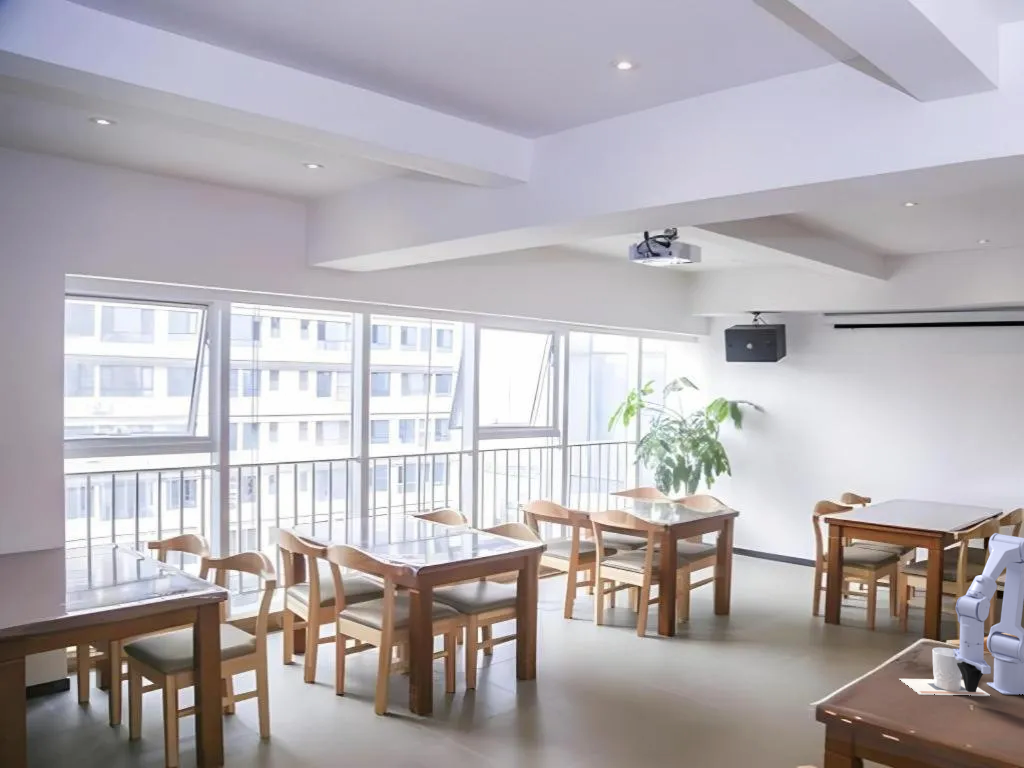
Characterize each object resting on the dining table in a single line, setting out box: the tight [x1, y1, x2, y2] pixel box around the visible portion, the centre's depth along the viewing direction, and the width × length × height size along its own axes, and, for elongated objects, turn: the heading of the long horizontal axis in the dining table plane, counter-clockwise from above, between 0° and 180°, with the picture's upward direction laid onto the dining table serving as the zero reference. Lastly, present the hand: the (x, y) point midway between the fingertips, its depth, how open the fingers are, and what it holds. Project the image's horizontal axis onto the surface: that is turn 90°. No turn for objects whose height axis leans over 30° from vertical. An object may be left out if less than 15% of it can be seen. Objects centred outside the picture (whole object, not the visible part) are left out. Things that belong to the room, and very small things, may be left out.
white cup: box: [931, 647, 963, 691], centre depth 231 cm, size 8×8×10 cm
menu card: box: [898, 678, 991, 697], centre depth 231 cm, size 20×12×1 cm, turn 90°
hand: (970, 691), depth 220 cm, fingers closed
